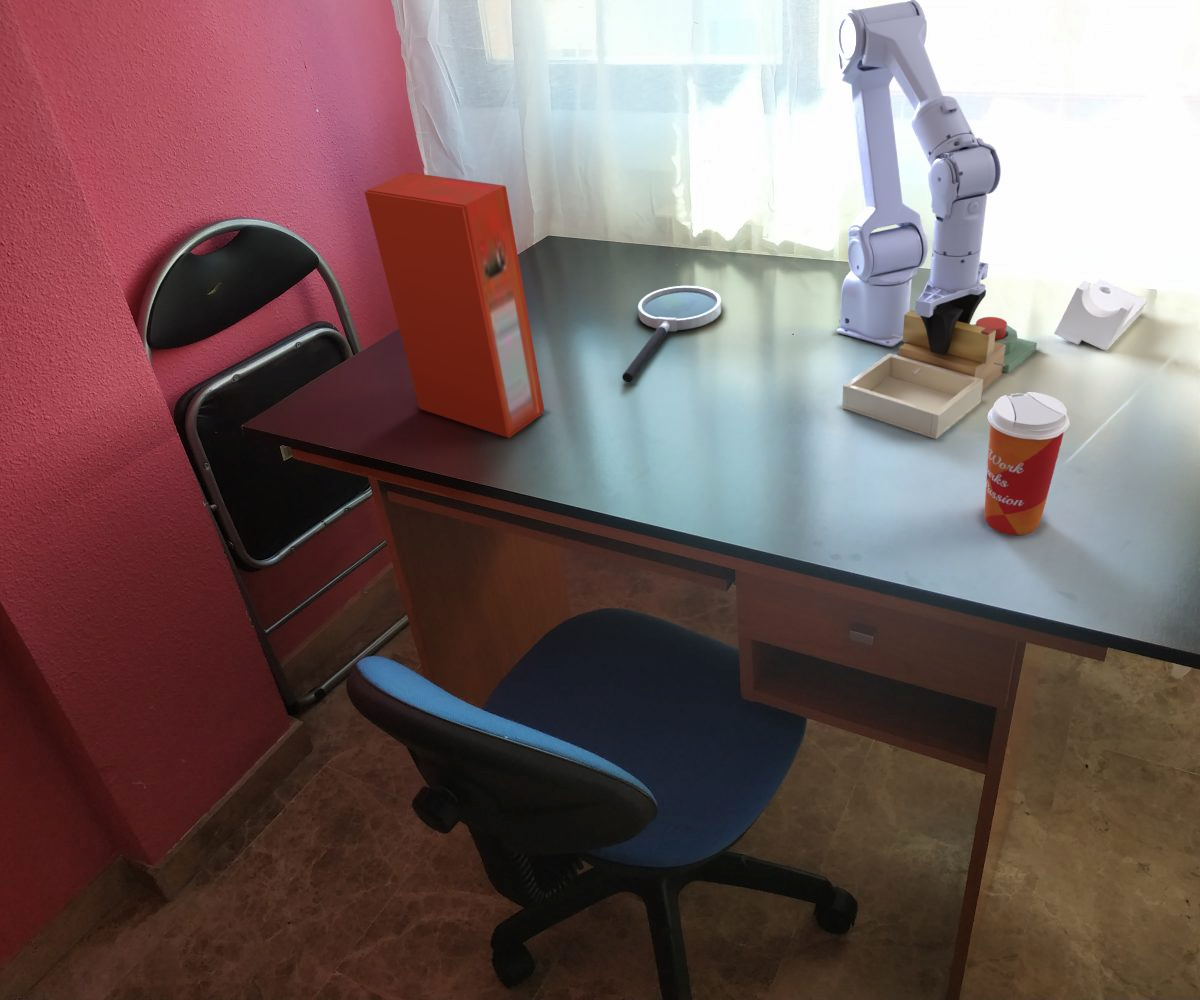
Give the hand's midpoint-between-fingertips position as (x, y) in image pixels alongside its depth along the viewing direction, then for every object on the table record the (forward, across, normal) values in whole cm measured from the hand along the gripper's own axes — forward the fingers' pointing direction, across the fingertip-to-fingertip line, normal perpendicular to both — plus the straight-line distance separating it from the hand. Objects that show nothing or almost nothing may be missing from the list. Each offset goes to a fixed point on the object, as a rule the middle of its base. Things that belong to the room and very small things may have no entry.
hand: (946, 346), depth 130 cm
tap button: (+2, +10, -1) cm, 11 cm away
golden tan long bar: (0, 0, 0) cm, 0 cm away
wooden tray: (+5, -8, 0) cm, 10 cm away
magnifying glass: (+5, -11, +42) cm, 43 cm away
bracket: (+5, +25, -10) cm, 28 cm away
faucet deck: (+5, 0, 0) cm, 5 cm away
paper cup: (+5, -24, -22) cm, 32 cm away
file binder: (+5, -43, +48) cm, 64 cm away
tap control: (+5, +10, -1) cm, 11 cm away
